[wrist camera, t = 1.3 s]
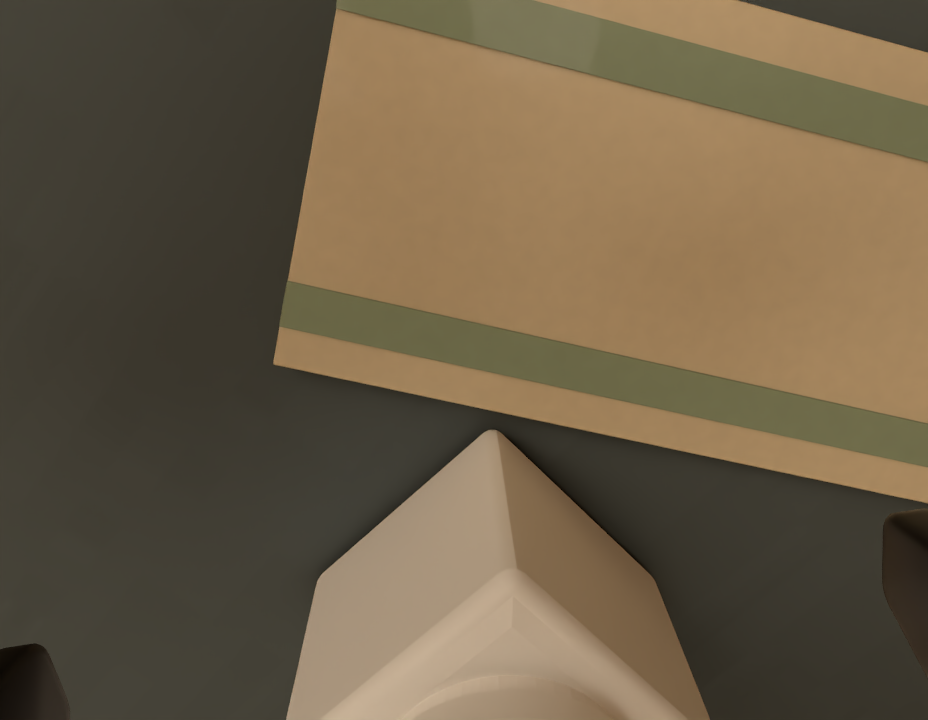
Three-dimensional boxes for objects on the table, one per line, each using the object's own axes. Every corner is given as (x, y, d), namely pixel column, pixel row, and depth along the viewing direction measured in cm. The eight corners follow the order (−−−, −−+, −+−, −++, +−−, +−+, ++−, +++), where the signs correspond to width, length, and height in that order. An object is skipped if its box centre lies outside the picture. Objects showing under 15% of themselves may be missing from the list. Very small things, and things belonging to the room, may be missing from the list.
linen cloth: (1162, 120, 21) (1186, 122, 20) (967, 504, 25) (982, 517, 24) (358, -102, 19) (355, -106, 18) (276, 356, 23) (272, 366, 22)
